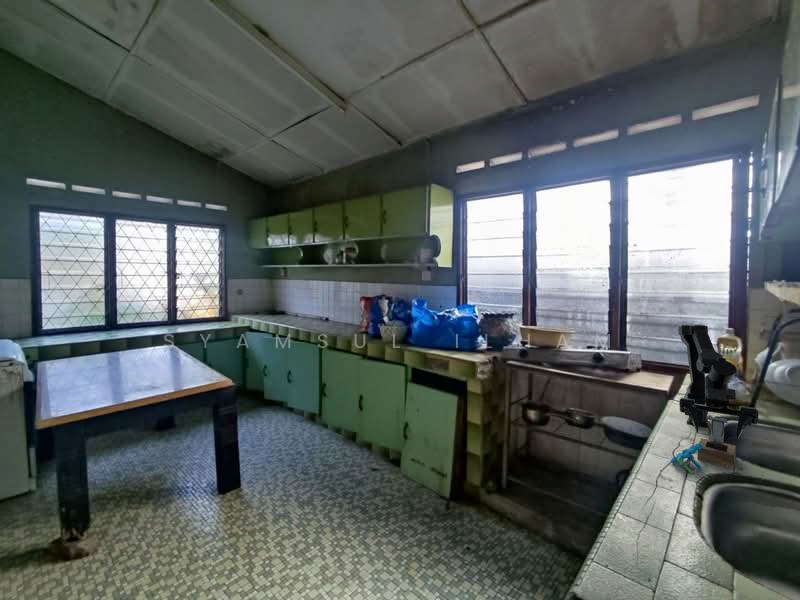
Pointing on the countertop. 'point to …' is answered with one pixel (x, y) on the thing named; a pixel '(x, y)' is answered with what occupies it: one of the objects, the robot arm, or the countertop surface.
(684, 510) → the countertop surface
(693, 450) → the blue lumpy figure
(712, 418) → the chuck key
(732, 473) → the countertop surface
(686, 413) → the robot arm
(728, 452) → the key holder
